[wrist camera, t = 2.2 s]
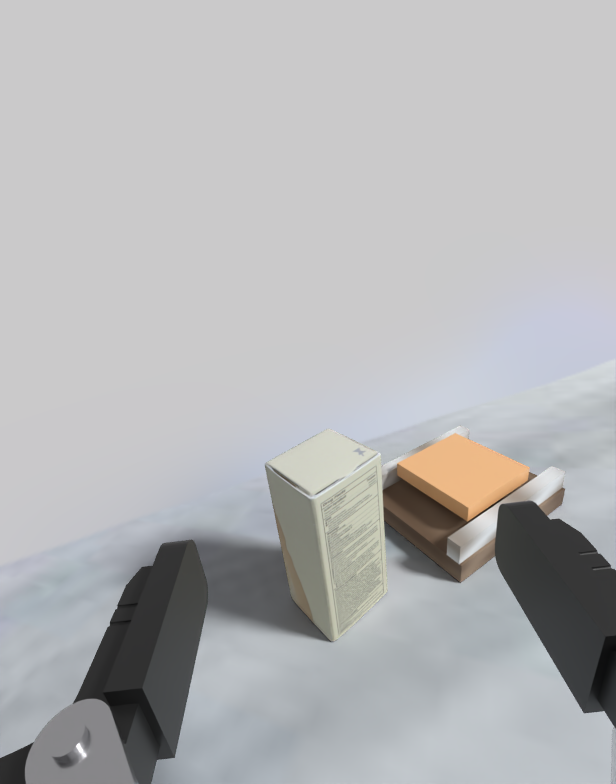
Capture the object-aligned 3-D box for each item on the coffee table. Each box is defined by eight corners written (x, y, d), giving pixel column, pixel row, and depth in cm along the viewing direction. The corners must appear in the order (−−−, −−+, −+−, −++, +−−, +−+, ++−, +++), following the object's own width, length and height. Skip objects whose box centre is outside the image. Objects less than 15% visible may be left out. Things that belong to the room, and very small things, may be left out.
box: (344, 555, 29) (332, 424, 25) (390, 593, 26) (386, 450, 21) (286, 600, 26) (261, 460, 22) (330, 648, 23) (311, 496, 19)
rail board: (460, 582, 26) (463, 548, 25) (362, 503, 34) (360, 474, 33) (561, 504, 32) (568, 473, 30) (457, 451, 40) (458, 424, 38)
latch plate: (467, 521, 28) (468, 507, 27) (397, 475, 33) (397, 463, 32) (527, 480, 31) (529, 467, 30) (454, 444, 36) (455, 432, 36)
